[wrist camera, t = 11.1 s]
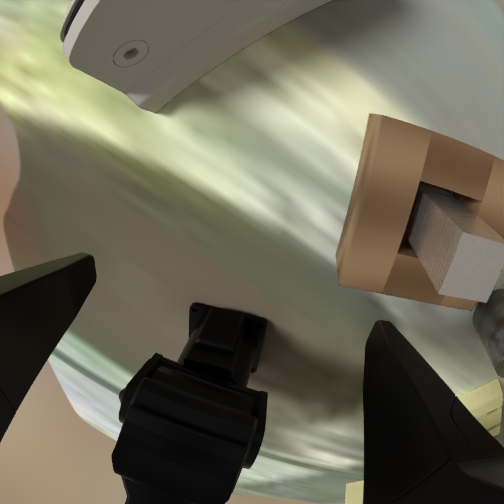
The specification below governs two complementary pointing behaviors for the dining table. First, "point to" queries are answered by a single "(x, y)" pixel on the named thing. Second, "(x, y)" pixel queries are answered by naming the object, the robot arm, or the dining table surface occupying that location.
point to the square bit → (454, 245)
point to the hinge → (166, 40)
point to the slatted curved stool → (481, 407)
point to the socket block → (409, 205)
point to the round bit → (492, 328)
